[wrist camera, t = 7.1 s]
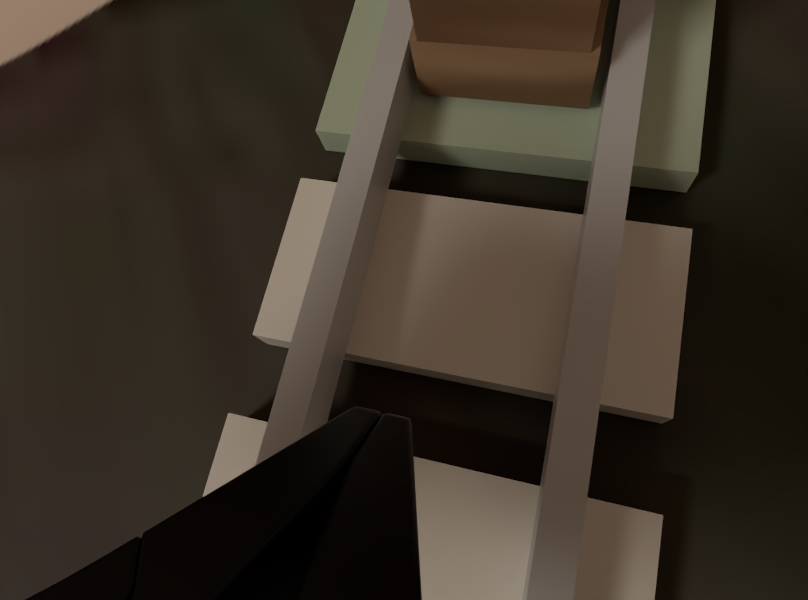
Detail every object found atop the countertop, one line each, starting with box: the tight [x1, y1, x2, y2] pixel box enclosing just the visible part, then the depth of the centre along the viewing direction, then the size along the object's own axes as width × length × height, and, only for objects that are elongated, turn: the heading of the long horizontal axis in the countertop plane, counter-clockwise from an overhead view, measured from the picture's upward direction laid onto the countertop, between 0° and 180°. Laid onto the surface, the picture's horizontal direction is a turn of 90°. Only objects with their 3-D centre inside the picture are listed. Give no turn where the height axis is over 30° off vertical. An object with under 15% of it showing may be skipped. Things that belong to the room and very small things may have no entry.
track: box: [203, 0, 716, 600], centre depth 14 cm, size 20×10×4 cm, turn 167°
